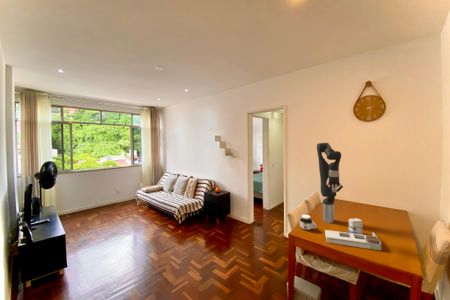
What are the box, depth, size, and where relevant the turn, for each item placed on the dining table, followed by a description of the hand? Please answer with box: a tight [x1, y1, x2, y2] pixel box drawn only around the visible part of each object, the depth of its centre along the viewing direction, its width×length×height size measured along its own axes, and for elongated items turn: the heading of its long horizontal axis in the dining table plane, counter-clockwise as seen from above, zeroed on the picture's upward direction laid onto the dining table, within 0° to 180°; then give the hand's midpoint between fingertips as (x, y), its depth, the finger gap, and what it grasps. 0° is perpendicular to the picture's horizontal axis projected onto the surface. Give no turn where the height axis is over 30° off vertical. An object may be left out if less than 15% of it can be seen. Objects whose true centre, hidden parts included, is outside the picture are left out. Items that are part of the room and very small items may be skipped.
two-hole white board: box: [324, 229, 382, 251], centre depth 150 cm, size 16×34×6 cm, turn 67°
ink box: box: [348, 217, 363, 235], centre depth 160 cm, size 9×5×12 cm, turn 92°
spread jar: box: [299, 214, 317, 231], centre depth 173 cm, size 12×11×12 cm
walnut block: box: [365, 234, 379, 244], centre depth 142 cm, size 6×6×4 cm
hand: (334, 196), depth 160 cm, fingers closed
